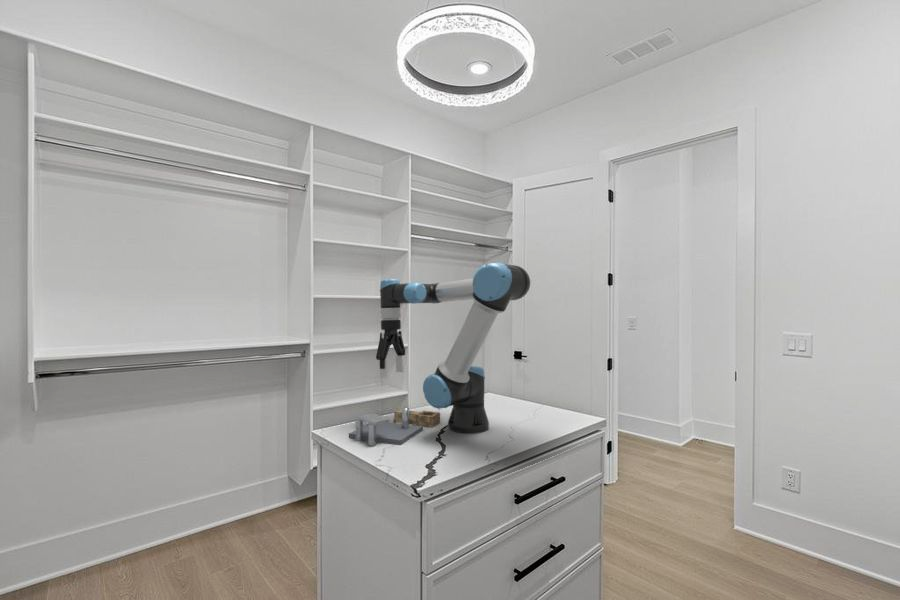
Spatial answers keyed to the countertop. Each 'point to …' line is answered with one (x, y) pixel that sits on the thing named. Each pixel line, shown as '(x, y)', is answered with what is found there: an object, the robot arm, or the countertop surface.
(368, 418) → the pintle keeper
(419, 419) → the link
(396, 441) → the base plate
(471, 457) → the countertop surface
